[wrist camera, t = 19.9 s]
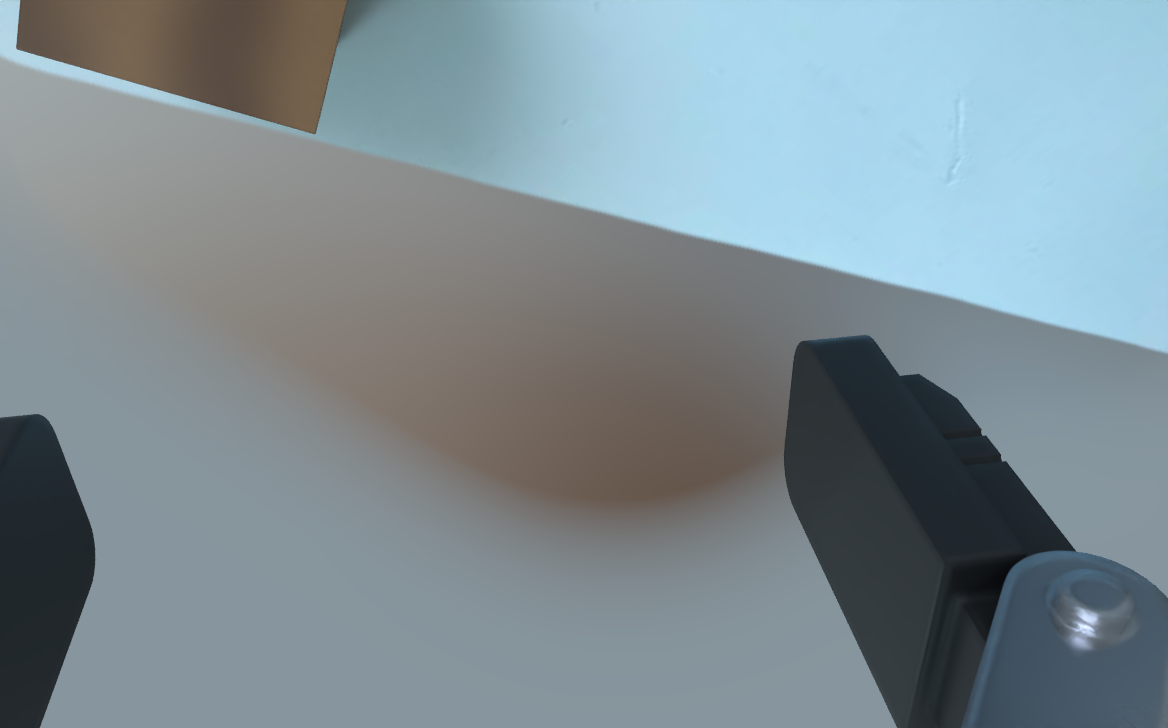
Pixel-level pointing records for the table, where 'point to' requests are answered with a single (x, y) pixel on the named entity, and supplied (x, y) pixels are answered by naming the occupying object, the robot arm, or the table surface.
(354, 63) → the table surface
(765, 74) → the table surface
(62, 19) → the brown box
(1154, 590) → the robot arm
